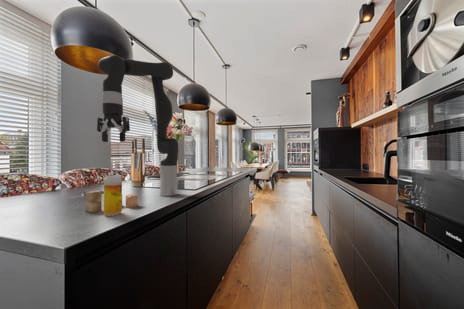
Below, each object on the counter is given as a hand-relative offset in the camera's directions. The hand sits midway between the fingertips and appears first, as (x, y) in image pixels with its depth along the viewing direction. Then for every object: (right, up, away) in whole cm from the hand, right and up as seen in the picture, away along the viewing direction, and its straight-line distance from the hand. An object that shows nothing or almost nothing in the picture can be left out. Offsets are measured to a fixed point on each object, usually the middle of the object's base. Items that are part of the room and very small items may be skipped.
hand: (113, 141), depth 88 cm
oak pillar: (-7, -29, -3) cm, 30 cm away
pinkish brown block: (+6, -29, +5) cm, 30 cm away
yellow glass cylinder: (+4, -29, -8) cm, 30 cm away
